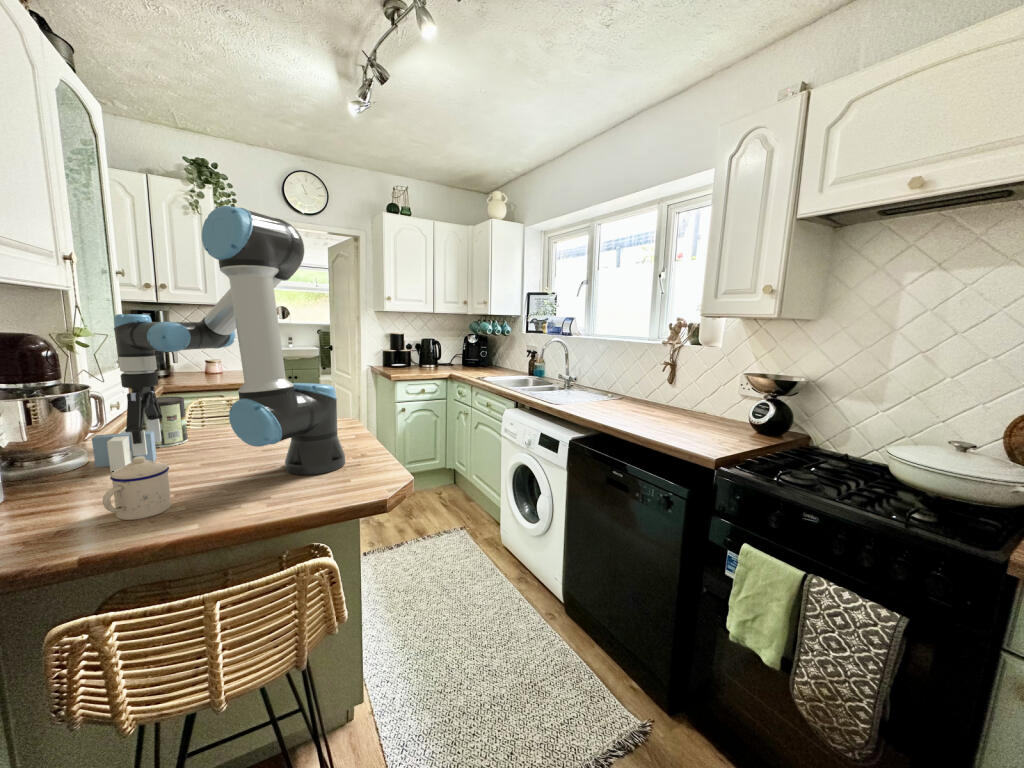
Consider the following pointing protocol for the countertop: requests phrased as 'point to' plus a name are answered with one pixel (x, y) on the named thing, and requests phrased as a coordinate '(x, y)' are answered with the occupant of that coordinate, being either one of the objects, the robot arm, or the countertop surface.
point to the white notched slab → (119, 452)
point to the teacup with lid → (139, 490)
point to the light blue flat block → (102, 449)
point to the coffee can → (171, 421)
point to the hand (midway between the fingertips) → (148, 448)
